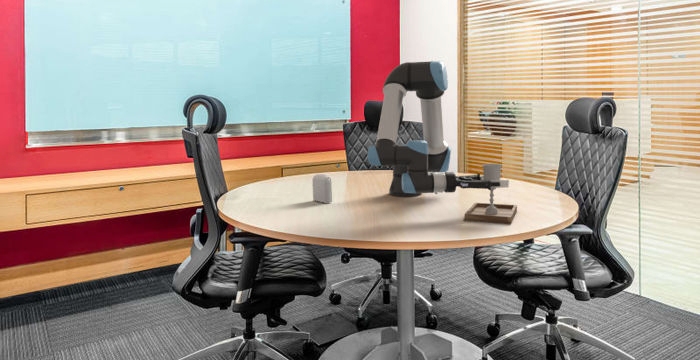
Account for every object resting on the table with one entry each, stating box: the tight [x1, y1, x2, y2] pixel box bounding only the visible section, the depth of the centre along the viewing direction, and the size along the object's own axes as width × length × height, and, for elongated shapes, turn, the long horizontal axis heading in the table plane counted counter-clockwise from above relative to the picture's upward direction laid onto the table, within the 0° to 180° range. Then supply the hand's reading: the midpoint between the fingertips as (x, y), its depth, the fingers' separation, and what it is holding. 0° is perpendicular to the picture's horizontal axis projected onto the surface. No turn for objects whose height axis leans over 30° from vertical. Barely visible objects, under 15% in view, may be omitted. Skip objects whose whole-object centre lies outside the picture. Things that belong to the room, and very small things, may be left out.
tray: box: [463, 202, 518, 225], centre depth 189 cm, size 22×16×2 cm
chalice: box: [481, 163, 503, 214], centre depth 187 cm, size 7×7×18 cm
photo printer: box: [311, 173, 333, 204], centre depth 221 cm, size 10×4×12 cm, turn 39°
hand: (502, 181), depth 187 cm, fingers open, 11 cm apart
